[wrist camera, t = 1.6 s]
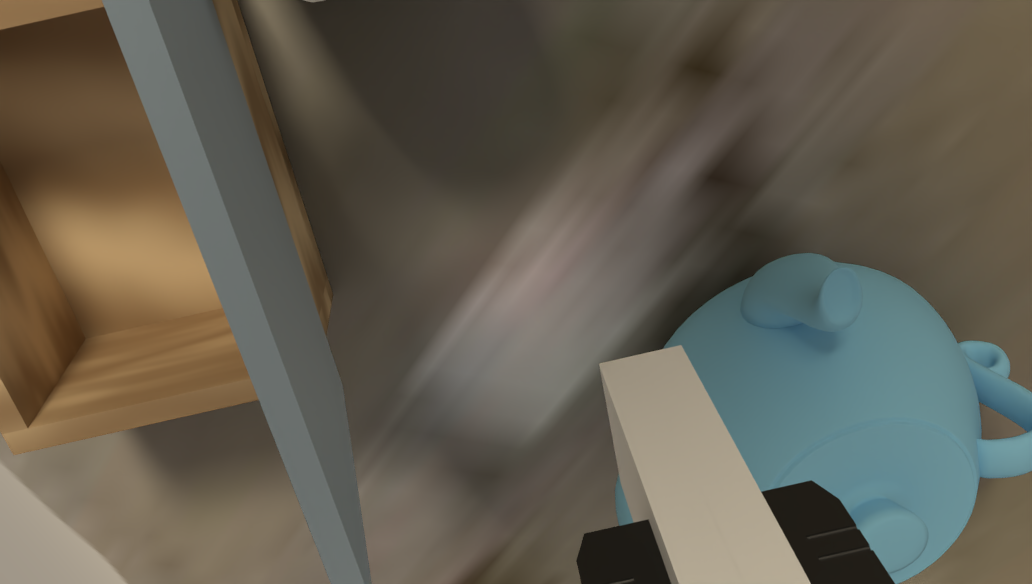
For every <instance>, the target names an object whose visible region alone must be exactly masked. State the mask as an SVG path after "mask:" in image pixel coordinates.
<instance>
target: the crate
mask: <svg viewBox="0 0 1032 584" xmlns="http://www.w3.org/2000/svg"><path fill="white" fill-rule="evenodd" d="M212 1H213V4H214V7H215V10H216V13H217V16H218V19H219V22H220V25H221V28H222V31H223V34H224V37H225V40H226V43H227V46H228V49H229V52H230V55H231V58H232V60H233V63H234V66H235V69H236V72H237V75H238V78H239V81H240V84H241V87H242V90H243V93H244V96H245V99H246V102H247V105H248V108H249V111H250V114H251V117H252V119H253V122H254V125H255V128H256V131H257V134H258V137H259V140H260V143H261V146H262V149H263V152H264V155H265V158H266V161H267V164H268V167H269V170H270V173H271V176H272V179H273V181H274V184H275V187H276V190H277V193H278V196H279V199H280V202H281V205H282V208H283V211H284V214H285V217H286V220H287V223H288V226H289V229H290V232H291V235H292V238H293V240H294V243H295V246H296V249H297V252H298V255H299V258H300V261H301V264H302V267H303V270H304V273H305V276H306V279H307V282H308V285H309V288H310V291H311V294H312V297H313V300H314V302H315V305H316V308H317V311H318V314H319V317H320V320H321V323H322V326H323V329H324V332H325V335H327V329H328V323H329V317H330V311H331V305H332V298H333V293H332V289H331V286H330V283H329V280H328V277H327V274H326V271H325V268H324V265H323V262H322V259H321V256H320V253H319V250H318V247H317V244H316V240H315V237H314V234H313V231H312V228H311V225H310V222H309V219H308V216H307V213H306V210H305V207H304V204H303V201H302V198H301V195H300V191H299V188H298V185H297V182H296V179H295V176H294V173H293V170H292V167H291V164H290V161H289V158H288V155H287V152H286V149H285V146H284V142H283V139H282V136H281V133H280V130H279V127H278V124H277V121H276V118H275V115H274V112H273V109H272V106H271V103H270V100H269V97H268V93H267V90H266V87H265V84H264V81H263V78H262V75H261V72H260V69H259V66H258V63H257V60H256V57H255V54H254V51H253V48H252V45H251V41H250V38H249V35H248V32H247V29H246V26H245V23H244V20H243V17H242V14H241V11H240V8H239V5H238V2H237V0H212ZM256 400H259V399H258V397H257V394H256V392H255V389H254V386H253V384H252V381H251V379H250V376H249V374H248V371H247V369H246V366H245V364H244V361H243V358H242V356H241V353H240V351H239V348H238V346H237V343H236V341H235V338H234V336H233V333H232V330H231V328H230V325H229V323H228V320H227V318H226V315H225V313H224V310H223V308H222V305H221V302H220V300H219V297H218V295H217V292H216V290H215V287H214V285H213V282H212V280H211V277H210V274H209V272H208V269H207V267H206V264H205V262H204V259H203V257H202V254H201V252H200V249H199V246H198V244H197V241H196V239H195V236H194V234H193V231H192V229H191V226H190V224H189V221H188V218H187V216H186V213H185V211H184V208H183V206H182V203H181V201H180V198H179V196H178V193H177V190H176V188H175V185H174V183H173V180H172V178H171V175H170V173H169V170H168V168H167V165H166V162H165V160H164V157H163V155H162V152H161V150H160V147H159V145H158V142H157V140H156V137H155V134H154V132H153V129H152V127H151V124H150V122H149V119H148V117H147V114H146V112H145V109H144V106H143V104H142V101H141V99H140V96H139V94H138V91H137V89H136V86H135V84H134V81H133V78H132V76H131V73H130V71H129V68H128V66H127V63H126V61H125V58H124V56H123V53H122V51H121V48H120V45H119V43H118V40H117V38H116V35H115V33H114V30H113V28H112V25H111V23H110V20H109V17H108V15H107V12H106V10H105V7H104V5H103V2H102V0H0V432H1V433H2V435H3V437H4V439H5V441H6V442H7V444H8V446H9V448H10V450H11V451H12V453H13V455H16V454H21V453H25V452H30V451H34V450H39V449H43V448H47V447H52V446H56V445H61V444H65V443H70V442H74V441H79V440H83V439H87V438H92V437H96V436H101V435H105V434H110V433H114V432H119V431H123V430H127V429H132V428H136V427H141V426H145V425H150V424H154V423H158V422H163V421H167V420H172V419H176V418H181V417H185V416H190V415H194V414H198V413H203V412H207V411H212V410H216V409H221V408H225V407H230V406H234V405H238V404H243V403H247V402H252V401H256Z"/></svg>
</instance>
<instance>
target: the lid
mask: <svg viewBox="0 0 1032 584" xmlns="http://www.w3.org/2000/svg"><path fill="white" fill-rule="evenodd" d="M102 2H103V5H104V7H105V10H106V12H107V15H108V17H109V20H110V23H111V25H112V28H113V30H114V33H115V35H116V38H117V40H118V43H119V45H120V48H121V51H122V53H123V56H124V58H125V61H126V63H127V66H128V68H129V71H130V73H131V76H132V78H133V81H134V84H135V86H136V89H137V91H138V94H139V96H140V99H141V101H142V104H143V106H144V109H145V112H146V114H147V117H148V119H149V122H150V124H151V127H152V129H153V132H154V134H155V137H156V140H157V142H158V145H159V147H160V150H161V152H162V155H163V157H164V160H165V162H166V165H167V168H168V170H169V173H170V175H171V178H172V180H173V183H174V185H175V188H176V190H177V193H178V196H179V198H180V201H181V203H182V206H183V208H184V211H185V213H186V216H187V218H188V221H189V224H190V226H191V229H192V231H193V234H194V236H195V239H196V241H197V244H198V246H199V249H200V252H201V254H202V257H203V259H204V262H205V264H206V267H207V269H208V272H209V274H210V277H211V280H212V282H213V285H214V287H215V290H216V292H217V295H218V297H219V300H220V302H221V305H222V308H223V310H224V313H225V315H226V318H227V320H228V323H229V325H230V328H231V330H232V333H233V336H234V338H235V341H236V343H237V346H238V348H239V351H240V353H241V356H242V358H243V361H244V364H245V366H246V369H247V371H248V374H249V376H250V379H251V381H252V384H253V386H254V389H255V392H256V394H257V397H258V399H259V402H260V404H261V407H262V409H263V412H264V414H265V417H266V420H267V422H268V425H269V427H270V430H271V432H272V435H273V437H274V440H275V442H276V445H277V448H278V450H279V453H280V455H281V458H282V460H283V463H284V465H285V468H286V470H287V473H288V476H289V478H290V481H291V483H292V486H293V488H294V491H295V493H296V496H297V498H298V501H299V504H300V506H301V509H302V511H303V514H304V516H305V519H306V521H307V524H308V526H309V529H310V532H311V534H312V537H313V539H314V542H315V544H316V547H317V549H318V552H319V554H320V557H321V560H322V562H323V565H324V567H325V570H326V572H327V575H328V577H329V580H330V582H331V584H372V583H371V576H370V569H369V562H368V555H367V548H366V541H365V535H364V528H363V521H362V514H361V507H360V500H359V493H358V487H357V480H356V473H355V466H354V459H353V452H352V445H351V439H350V432H349V425H348V418H347V411H346V404H345V397H344V391H343V385H342V382H341V379H340V376H339V373H338V370H337V367H336V364H335V361H334V359H333V356H332V353H331V350H330V347H329V344H328V341H327V338H326V335H325V332H324V329H323V326H322V323H321V320H320V317H319V314H318V311H317V308H316V305H315V302H314V300H313V297H312V294H311V291H310V288H309V285H308V282H307V279H306V276H305V273H304V270H303V267H302V264H301V261H300V258H299V255H298V252H297V249H296V246H295V243H294V240H293V238H292V235H291V232H290V229H289V226H288V223H287V220H286V217H285V214H284V211H283V208H282V205H281V202H280V199H279V196H278V193H277V190H276V187H275V184H274V181H273V179H272V176H271V173H270V170H269V167H268V164H267V161H266V158H265V155H264V152H263V149H262V146H261V143H260V140H259V137H258V134H257V131H256V128H255V125H254V122H253V119H252V117H251V114H250V111H249V108H248V105H247V102H246V99H245V96H244V93H243V90H242V87H241V84H240V81H239V78H238V75H237V72H236V69H235V66H234V63H233V60H232V58H231V55H230V52H229V49H228V46H227V43H226V40H225V37H224V34H223V31H222V28H221V25H220V22H219V19H218V16H217V13H216V10H215V7H214V4H213V1H212V0H102Z"/></svg>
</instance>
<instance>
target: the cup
mask: <svg viewBox="0 0 1032 584" xmlns="http://www.w3.org/2000/svg"><path fill="white" fill-rule="evenodd" d="M304 1H308V2H312V3H313V2H318V1H324V0H304Z"/></svg>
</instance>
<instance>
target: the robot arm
mask: <svg viewBox="0 0 1032 584" xmlns="http://www.w3.org/2000/svg"><path fill="white" fill-rule="evenodd" d="M599 367H600V373H601V378H602V384H603V389H604V395H605V400H606V406H607V411H608V416H609V422H610V427H611V433H612V438H613V444H614V449H615V455H616V460H617V466H618V471H619V477H620V482H621V486H622V489H623V492H624V495H625V498H626V501H627V504H628V507H629V510H630V513H631V516H632V519H633V522H634V523H630V524H625V525H621V526H617V527H612V528H608V529H603V530H599V531H595V532H590V533H586V534H584V537H583V540H582V544H581V547H580V551H579V554H578V557H577V565H578V570H579V574H580V579H581V583H582V584H895V583H894V581H893V580H892V578H891V577H890V575H889V574H888V572H887V571H886V569H885V568H884V566H883V565H882V563H881V562H880V560H879V558H878V557H877V555H876V554H875V552H874V551H873V550H871V549H870V545H869V543H868V542H867V540H866V539H865V537H864V536H863V534H862V533H861V531H860V530H859V529H857V527H856V524H855V522H854V520H853V519H852V517H851V516H850V514H849V513H848V511H847V510H846V508H845V507H844V505H843V504H842V502H841V501H840V499H839V498H837V497H836V496H834V495H833V494H831V493H830V492H828V491H827V490H825V489H824V488H822V487H821V486H819V485H818V484H816V483H815V482H814V481H812V480H810V481H806V482H802V483H797V484H793V485H788V486H784V487H780V488H775V489H771V490H766V491H762V492H761V491H760V489H759V487H758V485H757V483H756V482H755V480H754V478H753V476H752V474H751V472H750V471H749V469H748V467H747V465H746V463H745V461H744V460H743V458H742V456H741V454H740V452H739V450H738V448H737V447H736V445H735V443H734V441H733V439H732V437H731V436H730V434H729V432H728V430H727V428H726V426H725V425H724V423H723V421H722V419H721V417H720V415H719V414H718V412H717V410H716V408H715V406H714V404H713V402H712V401H711V399H710V397H709V395H708V393H707V391H706V390H705V388H704V386H703V384H702V382H701V380H700V379H699V377H698V375H697V373H696V371H695V369H694V367H693V366H692V364H691V362H690V360H689V358H688V356H687V355H686V353H685V351H684V349H683V347H682V345H679V346H675V347H670V348H666V349H661V350H657V351H653V352H648V353H644V354H639V355H635V356H630V357H626V358H621V359H617V360H613V361H608V362H604V363H599Z"/></svg>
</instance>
